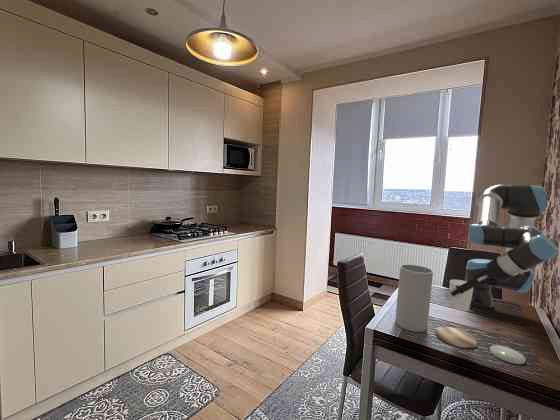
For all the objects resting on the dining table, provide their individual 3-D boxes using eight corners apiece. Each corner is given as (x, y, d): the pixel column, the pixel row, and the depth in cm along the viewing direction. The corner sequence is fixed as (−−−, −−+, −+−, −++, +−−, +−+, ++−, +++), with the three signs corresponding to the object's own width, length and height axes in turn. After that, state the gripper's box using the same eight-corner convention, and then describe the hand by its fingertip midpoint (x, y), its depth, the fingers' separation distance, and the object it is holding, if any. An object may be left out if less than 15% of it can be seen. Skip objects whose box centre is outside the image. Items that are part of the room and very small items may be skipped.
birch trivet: (452, 327, 122) (452, 324, 122) (485, 345, 109) (485, 342, 109) (427, 331, 117) (427, 328, 117) (458, 350, 104) (459, 347, 104)
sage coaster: (501, 346, 109) (501, 343, 109) (531, 361, 100) (532, 359, 100) (483, 349, 106) (483, 347, 106) (513, 366, 96) (513, 363, 96)
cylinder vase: (411, 317, 130) (416, 263, 127) (434, 331, 118) (440, 272, 116) (388, 320, 126) (393, 264, 123) (409, 334, 114) (415, 273, 112)
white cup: (443, 303, 115) (445, 279, 115) (461, 303, 116) (463, 279, 115) (456, 311, 108) (459, 286, 107) (475, 312, 108) (478, 286, 107)
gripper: (503, 281, 92) (445, 310, 106) (521, 272, 104) (467, 299, 119) (485, 261, 96) (432, 291, 110) (505, 255, 108) (455, 283, 122)
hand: (450, 295), depth 114 cm, fingers closed on white cup, 8 cm apart
